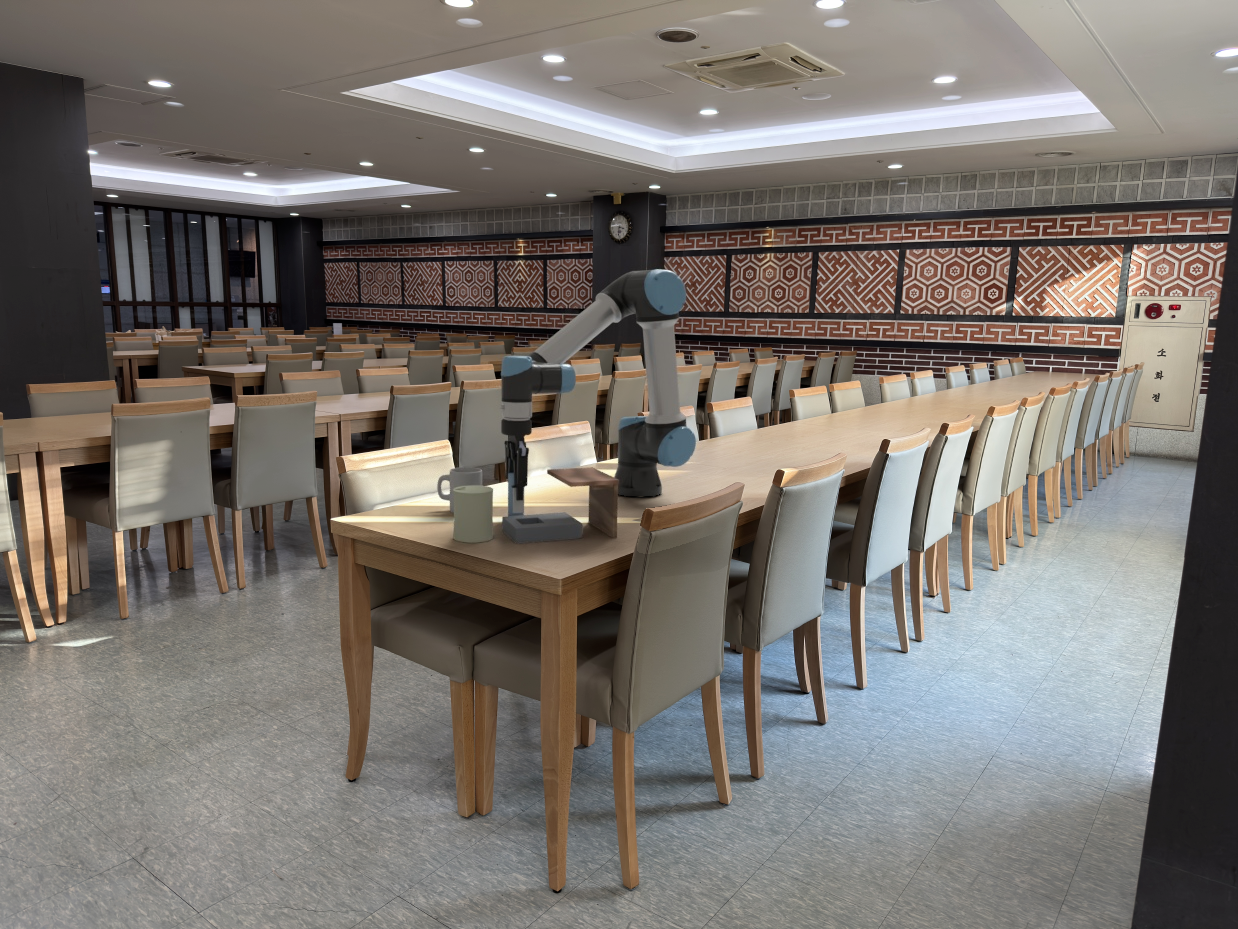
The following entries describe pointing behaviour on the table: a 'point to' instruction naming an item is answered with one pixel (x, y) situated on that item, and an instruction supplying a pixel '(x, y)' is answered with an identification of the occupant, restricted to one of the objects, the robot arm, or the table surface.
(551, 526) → the socket
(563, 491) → the table surface
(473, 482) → the mug
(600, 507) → the wooden l-bracket
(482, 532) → the can
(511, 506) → the peg
